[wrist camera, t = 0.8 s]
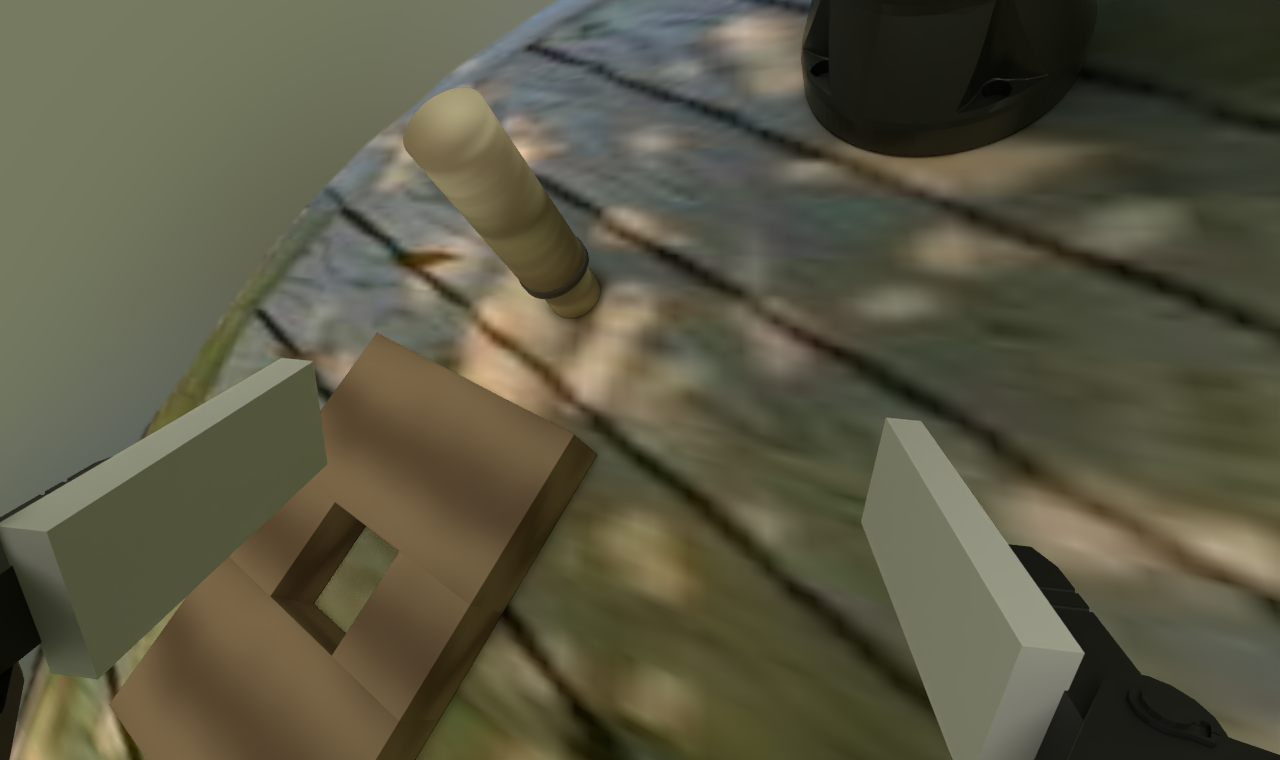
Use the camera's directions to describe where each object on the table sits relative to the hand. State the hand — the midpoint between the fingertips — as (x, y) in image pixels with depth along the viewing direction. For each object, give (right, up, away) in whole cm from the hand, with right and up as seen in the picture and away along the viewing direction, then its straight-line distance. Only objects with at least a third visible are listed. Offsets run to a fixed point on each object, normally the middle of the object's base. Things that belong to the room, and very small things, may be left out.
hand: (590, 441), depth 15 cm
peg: (-3, +7, +25) cm, 26 cm away
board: (-14, -10, +21) cm, 27 cm away
